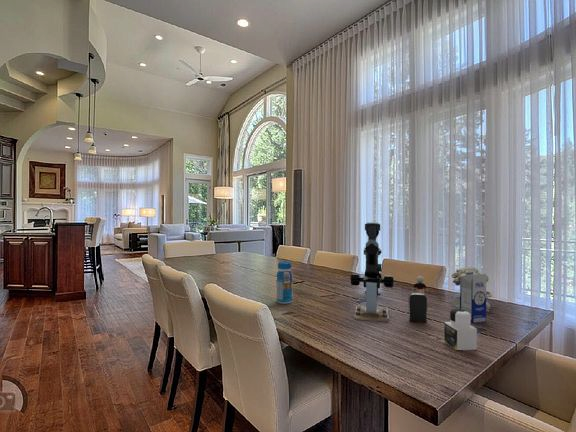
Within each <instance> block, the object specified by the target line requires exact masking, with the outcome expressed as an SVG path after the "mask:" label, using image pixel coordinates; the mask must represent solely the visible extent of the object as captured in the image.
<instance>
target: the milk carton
mask: <svg viewBox="0 0 576 432" xmlns="http://www.w3.org/2000/svg"><path fill="white" fill-rule="evenodd" d="M486 275H487V273H481V274H473V272H467V273H466V275H463V276H460V285H459V297H460V308H459V309H462V310H465V311H468V312H469V313H470V314H471V324H477V323H478V324H479V323H486V322H487V311H486V302H487V300H486V291H487V282H486Z"/></svg>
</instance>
